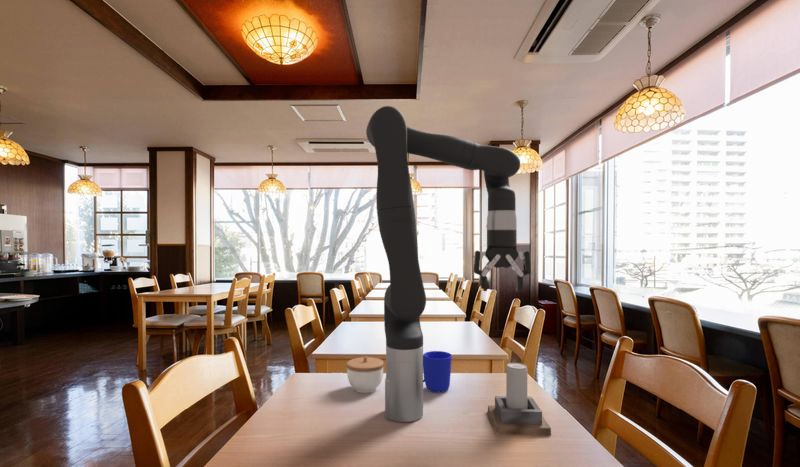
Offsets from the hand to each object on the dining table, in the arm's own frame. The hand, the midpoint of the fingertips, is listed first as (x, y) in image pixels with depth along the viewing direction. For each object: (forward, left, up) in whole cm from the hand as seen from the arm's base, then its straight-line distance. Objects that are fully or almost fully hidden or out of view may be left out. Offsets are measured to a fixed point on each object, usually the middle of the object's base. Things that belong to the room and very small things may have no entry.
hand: (501, 290), depth 109 cm
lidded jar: (-37, +11, -30) cm, 49 cm away
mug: (-18, +12, -30) cm, 37 cm away
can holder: (+2, -9, -30) cm, 31 cm away
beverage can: (+2, -9, -29) cm, 30 cm away
